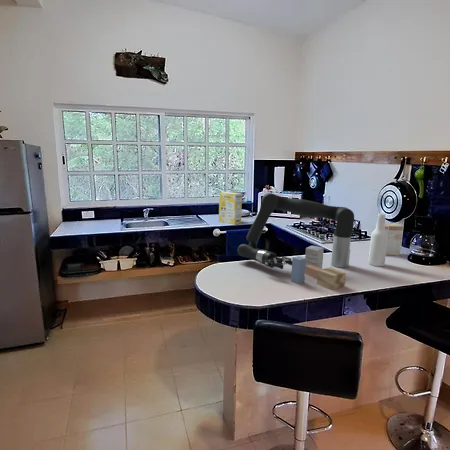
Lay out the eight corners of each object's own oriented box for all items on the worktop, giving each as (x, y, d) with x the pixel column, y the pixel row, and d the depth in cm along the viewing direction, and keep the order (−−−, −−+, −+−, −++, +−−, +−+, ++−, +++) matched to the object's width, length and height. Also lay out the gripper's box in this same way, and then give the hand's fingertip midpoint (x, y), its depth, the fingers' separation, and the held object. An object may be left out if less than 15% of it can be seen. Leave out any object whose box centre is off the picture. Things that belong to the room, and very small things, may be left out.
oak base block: (329, 280, 166) (330, 267, 165) (344, 286, 159) (345, 272, 157) (316, 283, 161) (318, 270, 160) (332, 290, 154) (333, 275, 152)
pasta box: (241, 223, 312) (242, 193, 306) (234, 224, 303) (235, 194, 298) (225, 220, 322) (226, 191, 317) (218, 222, 314) (219, 192, 309)
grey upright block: (309, 267, 186) (311, 245, 184) (322, 270, 182) (324, 247, 179) (303, 270, 181) (305, 247, 178) (316, 273, 176) (318, 250, 174)
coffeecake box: (395, 252, 222) (399, 224, 218) (400, 255, 215) (404, 226, 211) (372, 251, 223) (375, 223, 219) (376, 254, 216) (379, 225, 212)
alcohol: (375, 261, 200) (381, 212, 194) (387, 266, 192) (394, 214, 186) (364, 263, 197) (370, 212, 191) (376, 267, 189) (382, 215, 183)
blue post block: (296, 279, 166) (298, 256, 164) (304, 282, 163) (305, 258, 161) (290, 281, 164) (292, 257, 161) (298, 283, 160) (299, 259, 158)
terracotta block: (303, 273, 176) (304, 265, 175) (310, 272, 178) (311, 264, 177) (317, 279, 167) (318, 271, 166) (324, 278, 169) (324, 270, 168)
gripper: (256, 253, 175) (279, 260, 162) (275, 249, 183) (298, 256, 170) (256, 266, 176) (278, 275, 163) (275, 262, 184) (297, 270, 172)
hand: (288, 265), depth 167 cm, fingers open, 8 cm apart
